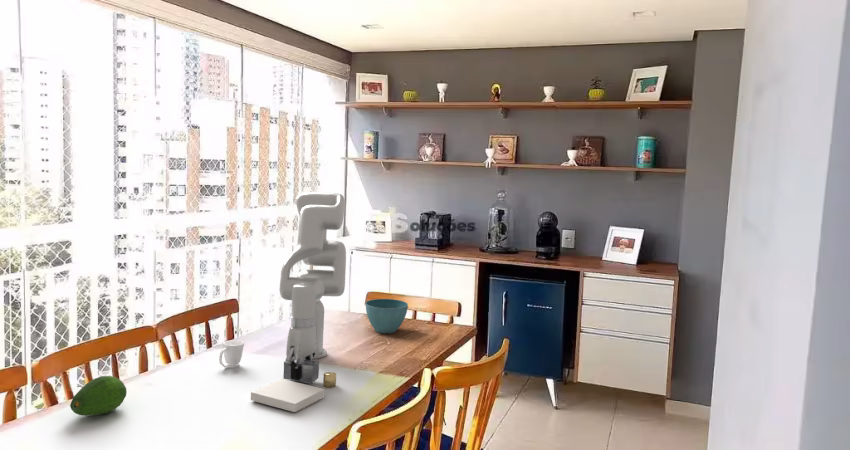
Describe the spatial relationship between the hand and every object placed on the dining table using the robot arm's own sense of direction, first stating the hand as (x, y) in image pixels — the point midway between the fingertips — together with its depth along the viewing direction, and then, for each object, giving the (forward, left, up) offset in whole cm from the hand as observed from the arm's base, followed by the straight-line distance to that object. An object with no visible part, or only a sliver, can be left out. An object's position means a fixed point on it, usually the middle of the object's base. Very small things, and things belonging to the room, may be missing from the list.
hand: (301, 375), depth 199 cm
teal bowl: (-10, +71, -2) cm, 72 cm away
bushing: (+9, +2, -2) cm, 10 cm away
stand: (+6, -15, -2) cm, 16 cm away
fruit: (-29, -51, -2) cm, 58 cm away
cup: (-29, -2, -2) cm, 29 cm away
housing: (0, 0, -1) cm, 1 cm away
